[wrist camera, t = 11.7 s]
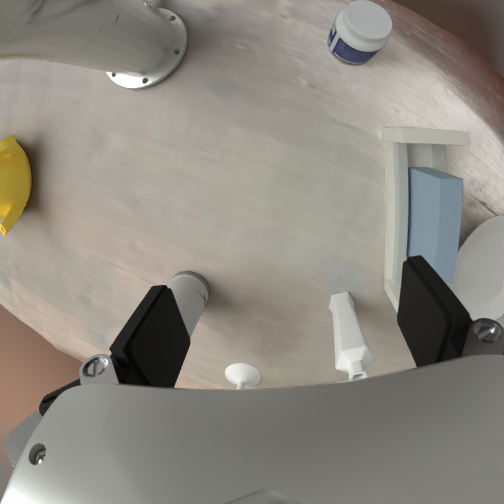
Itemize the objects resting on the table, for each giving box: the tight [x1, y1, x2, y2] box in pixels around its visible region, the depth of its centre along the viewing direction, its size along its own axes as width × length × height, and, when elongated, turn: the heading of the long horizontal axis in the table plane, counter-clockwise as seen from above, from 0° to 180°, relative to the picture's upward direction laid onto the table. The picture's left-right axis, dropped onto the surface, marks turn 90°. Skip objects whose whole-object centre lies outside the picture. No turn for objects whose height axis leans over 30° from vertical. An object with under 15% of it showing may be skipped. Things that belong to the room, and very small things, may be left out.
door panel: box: [406, 167, 463, 285], centre depth 28 cm, size 12×3×9 cm, turn 8°
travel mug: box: [167, 271, 210, 337], centre depth 33 cm, size 6×7×20 cm
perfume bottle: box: [329, 292, 374, 380], centre depth 33 cm, size 5×4×15 cm
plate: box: [450, 215, 504, 321], centre depth 34 cm, size 21×21×2 cm
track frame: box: [382, 128, 470, 313], centre depth 30 cm, size 22×9×7 cm, turn 8°
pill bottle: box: [328, 0, 392, 66], centre depth 22 cm, size 6×6×10 cm
